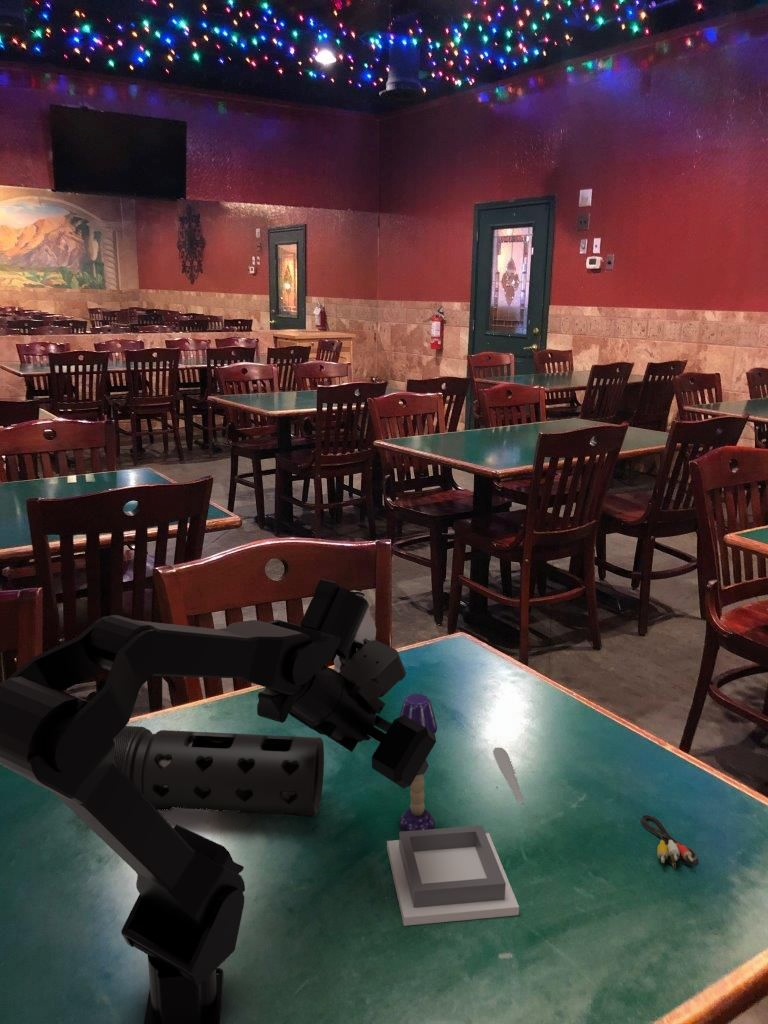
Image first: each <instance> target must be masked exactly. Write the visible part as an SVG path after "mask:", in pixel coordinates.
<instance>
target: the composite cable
mask: <svg viewBox="0 0 768 1024" xmlns="http://www.w3.org/2000/svg"><path fill="white" fill-rule="evenodd" d="M650 822H651V823H653V824H654V825H656V826H657V827H655V826H653V825H652V824H651V823H650ZM640 824H641V826H642V827H643V828H644V829H646V830H647V831H648V832H650V833H652V834H653V835H654V836H657V837H658V838H660V841H659V844H658V845H657V852H656V853H657V857H658V859H660V862H661V863H662V864H665V861H666V862H668V863H669V864H670V865H671V866H672V867H673V869H676V868H677V867H676V866H677V863H676V862H677V861H678V860H679V861H680V862H681V863H682V864H685V865H687V866H693V867H694V866H696V865H697V864H698V862H699V859H698V855H697V853H696V851H695V850H694V849H692V847H691V848H690V847H689V846H687V845H686V844H683V843H682V842H680V841H678V840H677V839H675V838H674V837H673V836H672V835H671V834H670V833H669V832H668V830H667V829H666V827H665V825H664V824H663V822H661V821H660V820H659V819H658V818H656V816H652V815H651V814H650V815H649V814H644V815H642V816H641V819H640Z"/></svg>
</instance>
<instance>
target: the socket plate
mask: <svg viewBox="0 0 768 1024" xmlns="http://www.w3.org/2000/svg"><path fill="white" fill-rule="evenodd" d="M398 837H399V839H396V840H395V839H393V840H387V841H386V852H387V855H388V859H389V864H390V869H391V873H392V878H393V882H394V887H395V892H396V896H397V901H398V906H399V910H400V915H401V919H402V925H403V926H406V927H407V926H413V925H414V926H415V925H427V924H437V923H439V924H440V923H447V922H448V923H449V922H459V921H471V920H479V919H490V918H492V919H493V918H501V917H502V918H503V917H513V916H519V913H520V905H519V904H518V901H517V898H516V896H515V893H514V891H513V889H512V885H511V884H510V881H509V879H508V876H507V873H506V871H505V870H504V866H503V864H502V862H501V860H500V857H499V854H498V852H497V849H496V847H495V844H494V843H493V840H492V838H491V835H490V833H489V832H486V830H485V829H484V826H483V825H468V826H459V827H458V826H457V827H446V828H445V827H444V828H434V829H429V830H416V831H399V834H398Z"/></svg>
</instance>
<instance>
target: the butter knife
mask: <svg viewBox="0 0 768 1024" xmlns="http://www.w3.org/2000/svg"><path fill="white" fill-rule="evenodd" d="M492 752H493V755H494V758H495V761H496V763H497V765H498V768H499V770H500V771H502V772H501V773H502V775H503V774H504V775H503V777H504V778H505V780H506V782H507V781H508V782H507V784H508V786H509V788H510V790H511V789H512V790H513V792H512V794H513V793H514V794H513V796H514V795H515V796H514V798H515V799H516V797H517V800H519V801H518V802H521V801H522V802H521V803H519V804H522V803H523V802H524V801H523V798H524V799H525V797H524V794H523V792H522V791H521V792H522V793H521V792H520V791H519V790H521V788H520V787H521V786H520V785H519V782H518V779H517V776H516V777H515V775H514V774H516V772H515V768H514V766H512V765H513V763H512V760H511V758H510V756H508V755H509V754H508V752H507V750H505V749H504V748H503V747H494V748H493V750H492ZM510 760H511V761H510ZM511 763H512V764H511ZM513 768H514V769H513ZM512 790H511V791H512ZM522 794H523V795H522ZM517 800H516V801H517ZM518 802H517V803H518ZM525 803H526V802H525ZM525 803H524V804H523V805H526V804H525ZM519 804H518V805H519Z"/></svg>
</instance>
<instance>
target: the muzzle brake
mask: <svg viewBox="0 0 768 1024" xmlns="http://www.w3.org/2000/svg"><path fill="white" fill-rule="evenodd" d="M114 740H115V754H114V761H115V763H116V765H117V766H118V767H119V768H120V769H121V770H122V772H123V773H124V774H125V775H126V776H127V777H128V778H129V779H130V780H131V782H132V783H133V784H134V785H135V786H136V787H137V788H138V789H139V790H140V792H141V793H142V794H143V795H144V796H145V797H146V798H147V799H148V800H149V802H150V803H151V804H152V805H153V806H154V807H155V808H156V809H157V810H158V811H168V812H169V811H170V810H171V809H181V810H182V809H183V810H185V809H187V810H202V811H204V810H205V811H206V810H210V811H218V812H219V813H223V812H224V811H225V812H239V813H240V814H253V815H255V814H256V815H270V816H271V815H273V816H274V815H276V816H291V817H293V816H294V817H311V818H312V817H315V816H316V815H317V814H318V812H319V810H320V805H321V802H322V801H321V800H322V795H323V794H322V793H323V786H324V785H323V784H324V769H325V749H324V748H325V747H324V742H323V741H324V740H323V739H322V737H317V736H316V737H315V736H314V737H313V736H312V737H311V736H297V735H296V736H293V735H272V734H253V733H252V734H250V733H235V732H234V733H233V732H230V733H229V732H213V731H211V732H209V731H189V730H187V731H186V730H172V729H171V730H170V729H168V730H167V729H162V730H161V729H160V730H157V732H155V733H153V731H151V729H148V728H147V727H145V726H136V725H126V726H125V727H124V728H123V729H122V730H121V731H120V732H119V733H118V734H117V735H116V737H115V738H114Z"/></svg>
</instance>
